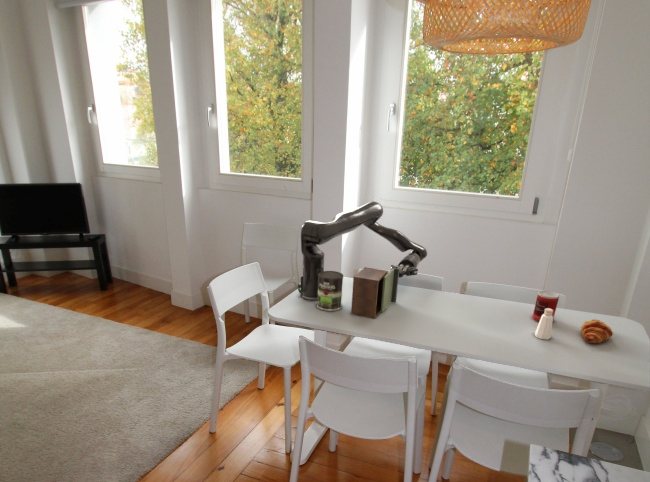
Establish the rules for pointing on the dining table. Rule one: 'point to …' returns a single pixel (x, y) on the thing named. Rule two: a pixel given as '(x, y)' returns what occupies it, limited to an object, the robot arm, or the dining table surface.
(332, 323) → the dining table surface
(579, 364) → the dining table surface
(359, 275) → the closet
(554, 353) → the dining table surface
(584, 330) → the croissant
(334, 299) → the coffee can
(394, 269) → the sliding door
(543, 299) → the canned food
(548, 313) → the pepper shaker
